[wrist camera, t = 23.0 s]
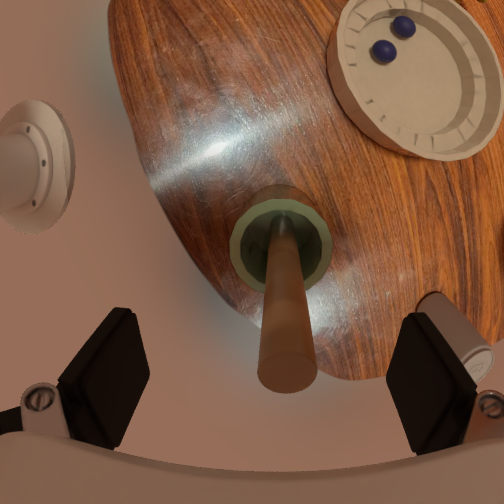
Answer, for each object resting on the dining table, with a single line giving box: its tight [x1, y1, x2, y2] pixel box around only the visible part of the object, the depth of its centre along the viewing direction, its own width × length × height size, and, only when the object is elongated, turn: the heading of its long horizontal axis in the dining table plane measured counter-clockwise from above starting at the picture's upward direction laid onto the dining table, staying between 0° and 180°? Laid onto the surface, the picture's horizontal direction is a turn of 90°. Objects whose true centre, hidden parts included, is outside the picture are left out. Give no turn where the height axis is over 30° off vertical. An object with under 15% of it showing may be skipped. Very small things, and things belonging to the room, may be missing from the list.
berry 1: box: [372, 40, 397, 63], centre depth 21 cm, size 2×2×2 cm
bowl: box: [327, 0, 504, 162], centre depth 20 cm, size 17×17×6 cm
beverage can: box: [417, 293, 494, 383], centre depth 26 cm, size 5×5×12 cm
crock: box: [229, 184, 333, 294], centre depth 26 cm, size 8×8×8 cm
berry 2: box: [392, 16, 416, 38], centre depth 20 cm, size 2×2×2 cm
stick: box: [257, 215, 317, 394], centre depth 20 cm, size 2×2×20 cm
